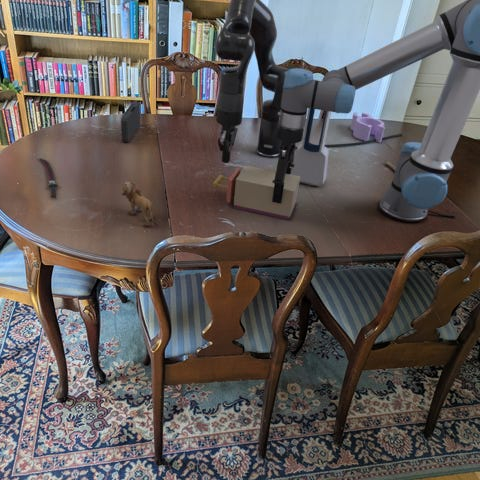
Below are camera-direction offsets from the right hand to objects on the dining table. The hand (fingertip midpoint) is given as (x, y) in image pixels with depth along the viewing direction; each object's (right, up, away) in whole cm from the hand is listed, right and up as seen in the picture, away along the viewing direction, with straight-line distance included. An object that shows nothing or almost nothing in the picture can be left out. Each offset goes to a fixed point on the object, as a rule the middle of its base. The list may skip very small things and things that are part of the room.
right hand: (280, 193), depth 145 cm
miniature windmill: (+10, +39, +72) cm, 83 cm away
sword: (-75, +6, +6) cm, 76 cm away
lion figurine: (-42, -8, -9) cm, 44 cm away
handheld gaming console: (-57, +29, +45) cm, 78 cm away
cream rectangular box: (-5, -3, +4) cm, 7 cm away
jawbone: (+53, +12, +37) cm, 66 cm away
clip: (+45, +34, +70) cm, 90 cm away
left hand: (-17, +10, 0) cm, 20 cm away
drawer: (-10, -1, +4) cm, 11 cm away
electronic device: (+11, +7, +22) cm, 25 cm away
